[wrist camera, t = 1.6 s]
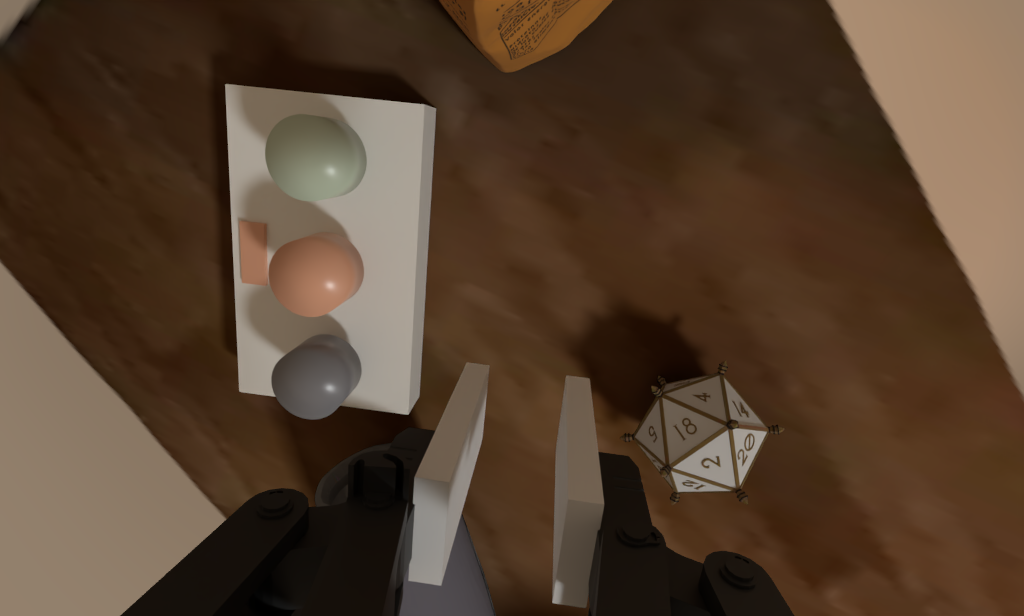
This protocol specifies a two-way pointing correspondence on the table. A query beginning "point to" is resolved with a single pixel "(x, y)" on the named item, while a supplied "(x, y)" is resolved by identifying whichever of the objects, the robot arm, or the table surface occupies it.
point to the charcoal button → (316, 376)
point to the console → (355, 216)
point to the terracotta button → (315, 273)
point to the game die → (701, 435)
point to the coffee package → (522, 27)
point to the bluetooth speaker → (425, 607)
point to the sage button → (315, 157)
